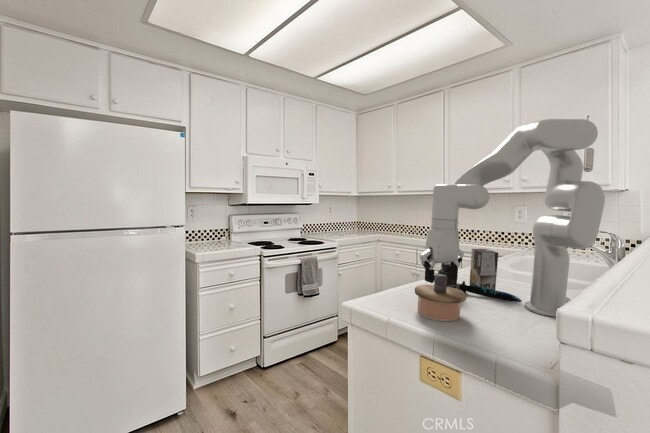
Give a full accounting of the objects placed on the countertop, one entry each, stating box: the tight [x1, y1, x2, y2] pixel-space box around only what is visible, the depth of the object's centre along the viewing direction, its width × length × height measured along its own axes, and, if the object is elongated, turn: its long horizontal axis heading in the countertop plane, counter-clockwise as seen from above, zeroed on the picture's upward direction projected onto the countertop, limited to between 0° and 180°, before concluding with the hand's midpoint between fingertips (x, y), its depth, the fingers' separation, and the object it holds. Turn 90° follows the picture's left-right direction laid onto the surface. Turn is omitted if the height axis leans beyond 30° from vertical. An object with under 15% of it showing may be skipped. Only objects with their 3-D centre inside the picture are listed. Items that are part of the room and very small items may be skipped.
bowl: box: [417, 295, 462, 322], centre depth 101 cm, size 12×12×6 cm
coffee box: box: [468, 248, 499, 290], centre depth 127 cm, size 9×6×16 cm
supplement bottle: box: [437, 262, 458, 289], centre depth 120 cm, size 7×7×12 cm
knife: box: [434, 274, 522, 303], centre depth 121 cm, size 31×3×4 cm, turn 60°
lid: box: [414, 273, 467, 303], centre depth 100 cm, size 15×15×6 cm
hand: (441, 280), depth 100 cm, fingers open, 9 cm apart
